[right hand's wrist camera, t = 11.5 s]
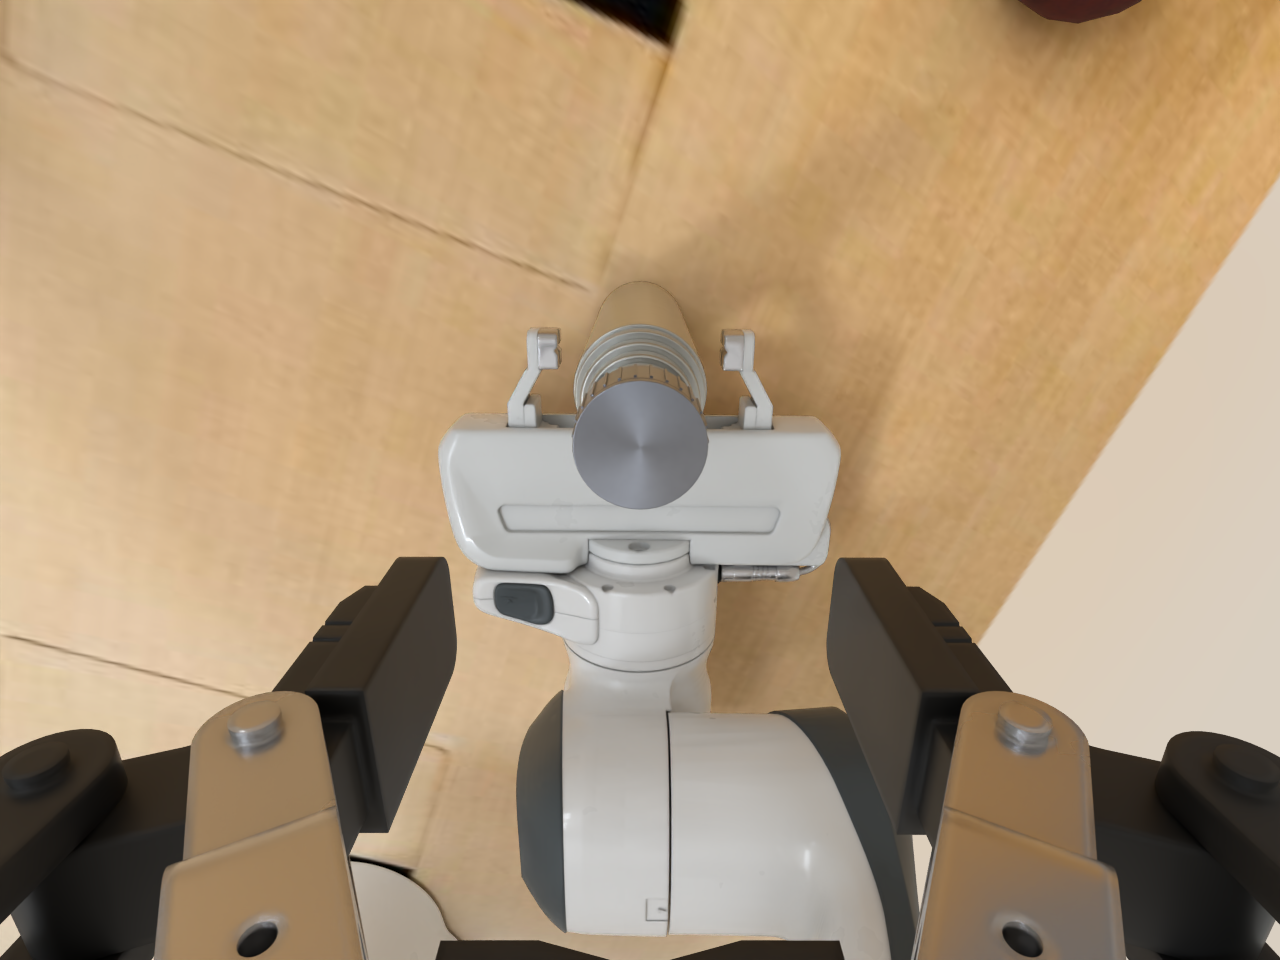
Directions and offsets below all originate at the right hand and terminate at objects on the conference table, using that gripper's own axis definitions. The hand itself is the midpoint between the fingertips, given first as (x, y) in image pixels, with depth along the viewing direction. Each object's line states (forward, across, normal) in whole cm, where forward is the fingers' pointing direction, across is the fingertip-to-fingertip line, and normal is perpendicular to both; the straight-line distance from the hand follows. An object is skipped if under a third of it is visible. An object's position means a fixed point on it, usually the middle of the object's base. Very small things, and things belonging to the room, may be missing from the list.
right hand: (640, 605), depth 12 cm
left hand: (+24, 0, -1) cm, 24 cm away
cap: (+9, 0, 0) cm, 9 cm away
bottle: (+31, 0, 0) cm, 31 cm away
